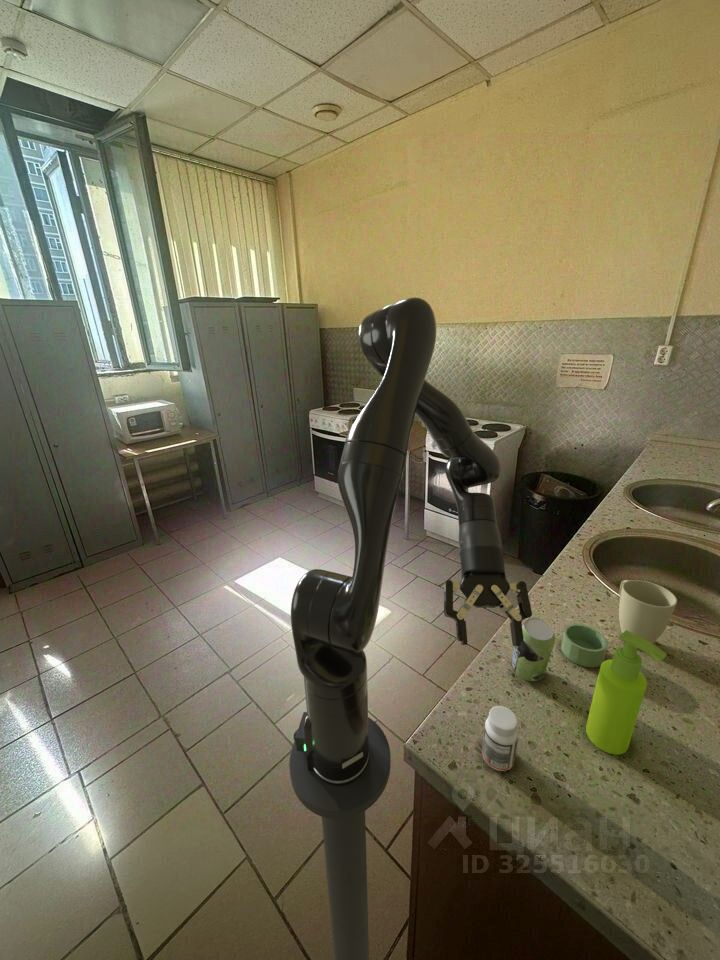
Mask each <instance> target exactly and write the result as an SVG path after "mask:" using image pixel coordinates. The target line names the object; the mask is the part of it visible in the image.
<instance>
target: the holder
mask: <svg viewBox="0 0 720 960" xmlns="http://www.w3.org/2000/svg"><path fill="white" fill-rule="evenodd" d="M560 648H561V652H562V653H563V655H564V656H565V657H566V658H567V659H568V660H569V661H571V662H573V663H574V664H576V665H579V666H581V667H585V668H598V667H600V666H601V664H602V662H604V661H605V658H606V654H607V650H608V639H606V637H605V635H604V634H602V633H601V632H600V631H599V630H597V629H595V628H593V627H591V626H589V625H585V624H581V623H571V624H568V625H566V627H564V629H563V634H562V639H561V645H560Z"/></svg>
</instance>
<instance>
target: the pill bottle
mask: <svg viewBox="0 0 720 960" xmlns="http://www.w3.org/2000/svg"><path fill="white" fill-rule="evenodd" d="M518 724H519V720H518V717H517V715H516V714H515V712H513V710H512V709H510V708H509V707H506V706H503V705H495V706H492V708H490V709H489V712H488V717H487V718H486V719H485V723H484V729H483V739H482V748H481V754H482V757H483V759H484V761H485V763H486V764H487V765H488V766H489V767H490V768H492V769H493V770H496V771H499V772H506V771H508V770H511V769H512V768H513V766H514V763H515V759H516V754H517V747H518V741H519V729H518Z"/></svg>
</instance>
